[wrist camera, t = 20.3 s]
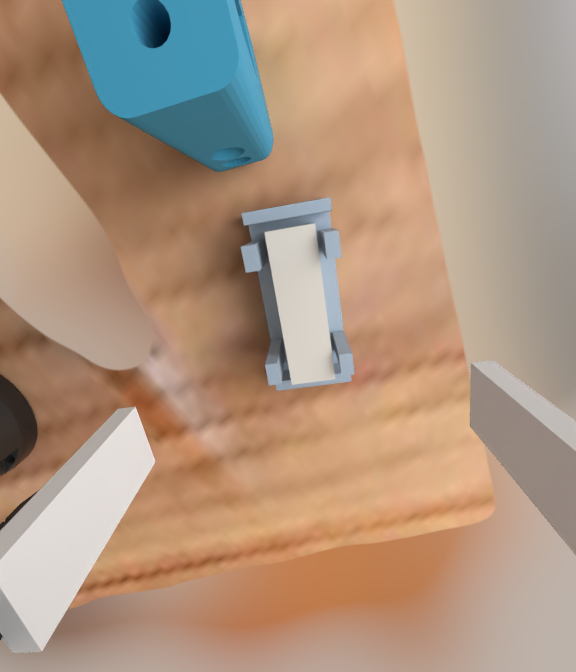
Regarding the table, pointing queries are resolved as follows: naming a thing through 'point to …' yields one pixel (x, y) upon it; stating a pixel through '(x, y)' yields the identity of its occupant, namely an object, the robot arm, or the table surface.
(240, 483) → the table surface
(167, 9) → the block
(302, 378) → the white rectangular bar
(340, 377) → the rack
